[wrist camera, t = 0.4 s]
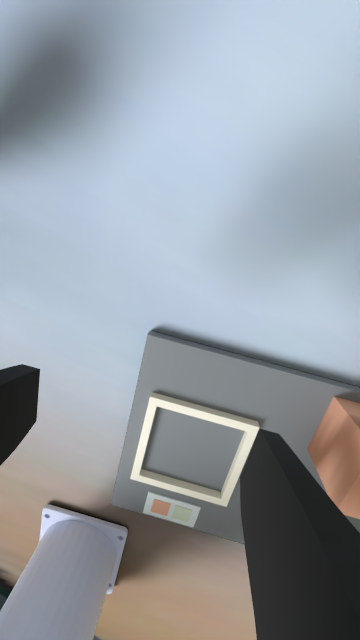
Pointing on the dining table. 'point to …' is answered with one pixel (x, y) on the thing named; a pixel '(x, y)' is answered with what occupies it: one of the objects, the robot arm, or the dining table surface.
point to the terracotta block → (339, 454)
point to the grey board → (211, 430)
